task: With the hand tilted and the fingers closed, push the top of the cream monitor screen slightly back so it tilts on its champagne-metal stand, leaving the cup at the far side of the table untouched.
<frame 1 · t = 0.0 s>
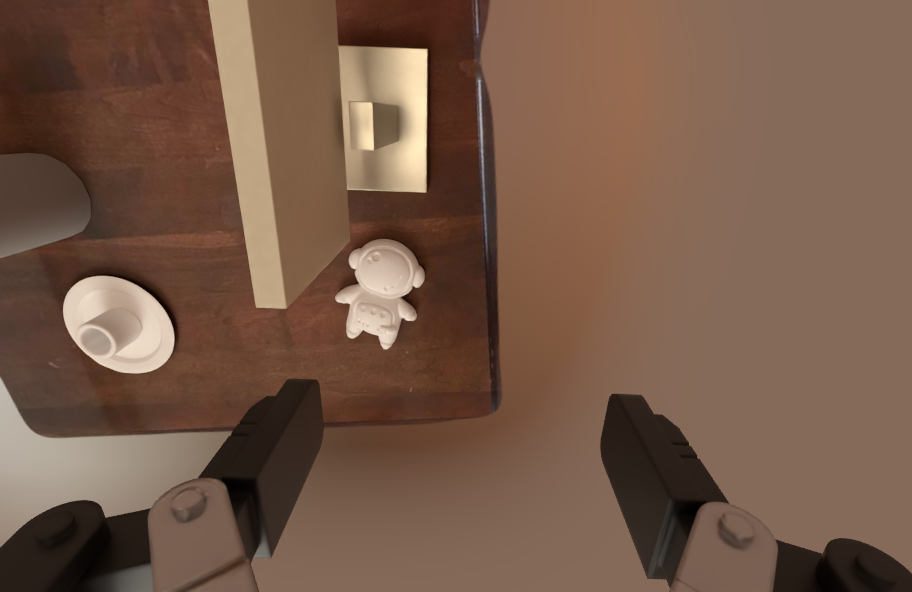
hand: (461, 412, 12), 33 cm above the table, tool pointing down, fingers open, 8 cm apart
monitor stand: (363, 122, 40), on the table
cup: (50, 196, 44), on the table
astronaut figurine: (380, 292, 47), on the table
candle holder: (125, 323, 49), on the table
monitor screen: (298, 126, 25), point 17 cm above the table, hinge at 0.0°
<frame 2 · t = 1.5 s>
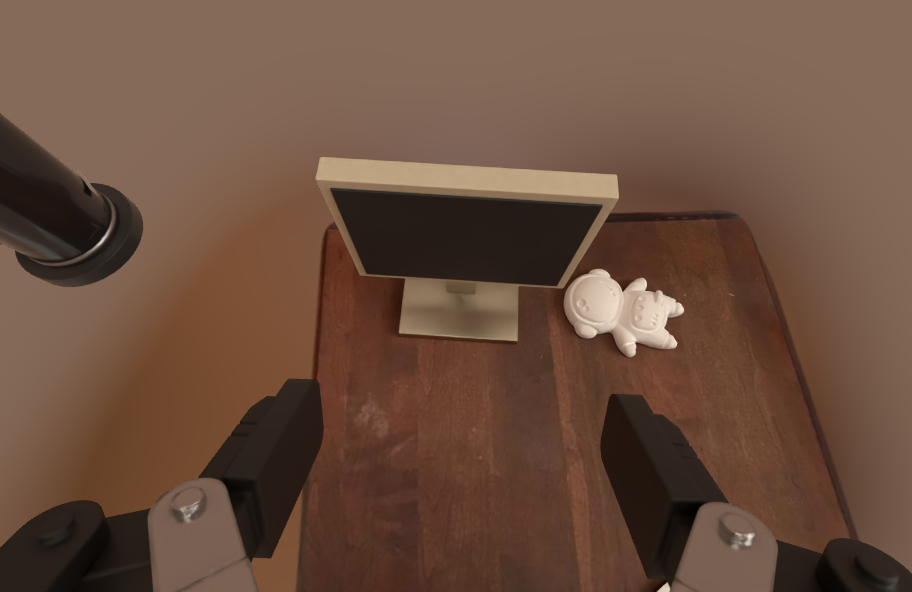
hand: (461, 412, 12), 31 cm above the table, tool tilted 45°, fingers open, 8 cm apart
monitor stand: (459, 313, 46), on the table
astronaut figurine: (620, 315, 46), on the table
monitor screen: (463, 235, 31), point 16 cm above the table, hinge at 0.0°
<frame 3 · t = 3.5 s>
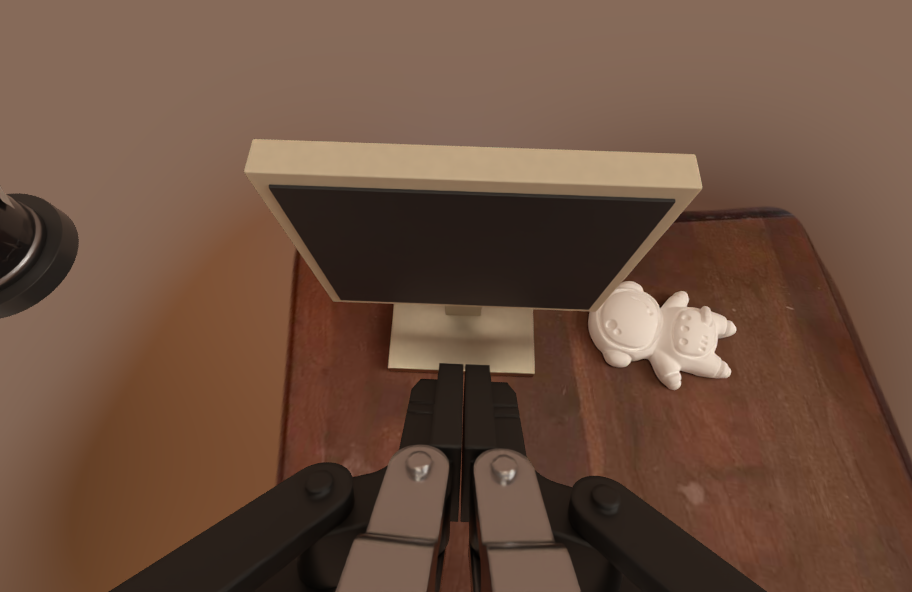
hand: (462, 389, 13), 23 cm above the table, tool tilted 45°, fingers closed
monitor stand: (462, 339, 38), on the table
astronaut figurine: (657, 337, 38), on the table
monitor screen: (467, 248, 22), point 17 cm above the table, hinge at 0.0°
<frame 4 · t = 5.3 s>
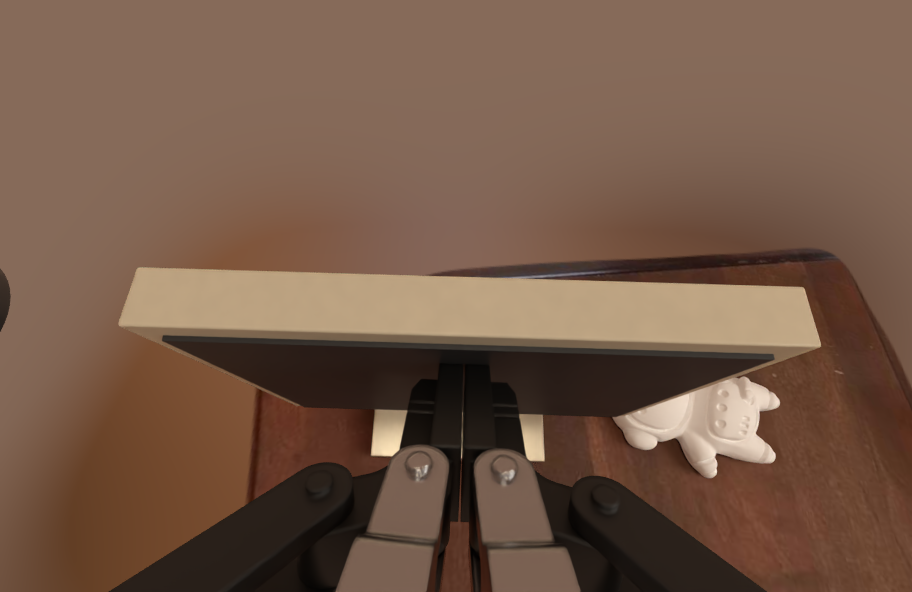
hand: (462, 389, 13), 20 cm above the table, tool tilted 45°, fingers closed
monitor stand: (458, 416, 32), on the table
astronaut figurine: (686, 409, 33), on the table
monitor screen: (463, 368, 17), point 17 cm above the table, hinge at 1.0°, touching gripper
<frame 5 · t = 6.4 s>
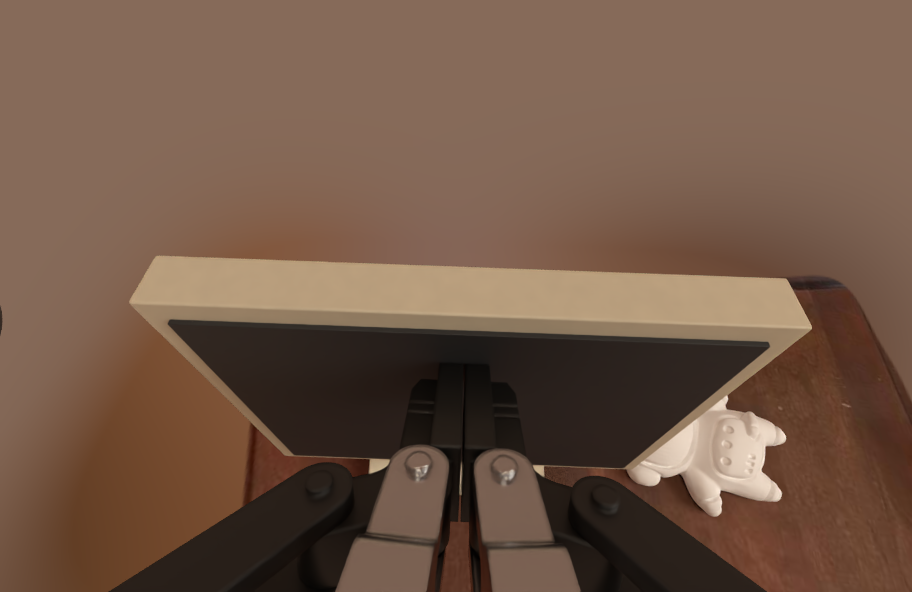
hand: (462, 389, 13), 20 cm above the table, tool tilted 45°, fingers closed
monitor stand: (457, 448, 31), on the table
astronaut figurine: (690, 443, 32), on the table
monitor screen: (462, 394, 16), point 17 cm above the table, hinge at 14.3°, touching gripper
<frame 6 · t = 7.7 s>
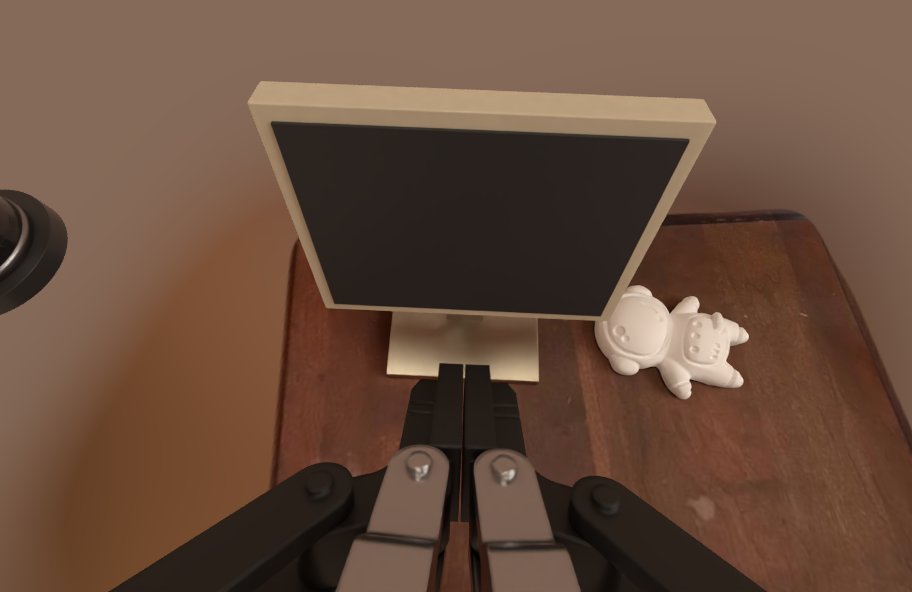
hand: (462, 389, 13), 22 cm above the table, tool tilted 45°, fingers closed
monitor stand: (463, 345, 36), on the table
astronaut figurine: (666, 344, 37), on the table
monitor screen: (472, 228, 21), point 17 cm above the table, hinge at 14.4°
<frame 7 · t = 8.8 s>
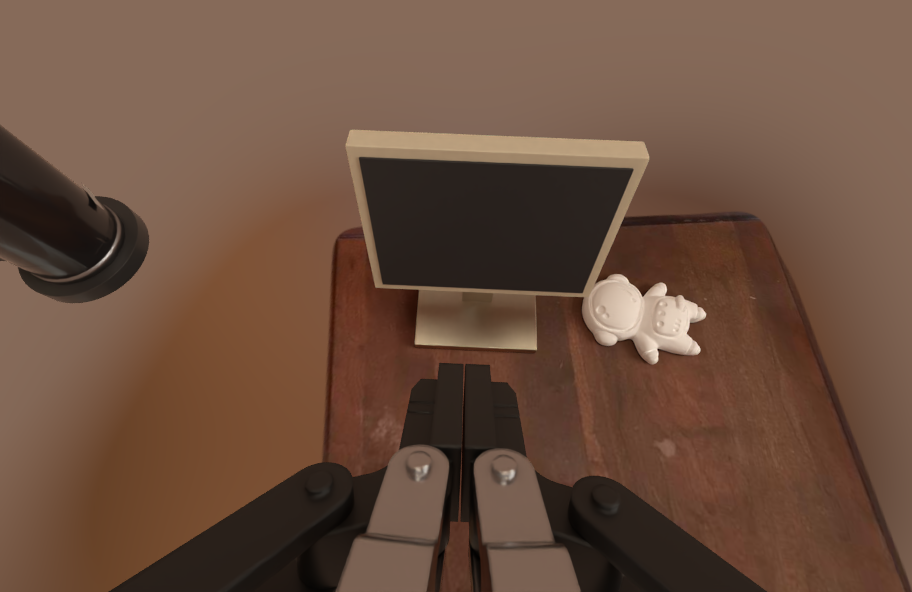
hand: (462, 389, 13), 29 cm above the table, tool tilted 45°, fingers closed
monitor stand: (475, 322, 45), on the table
astronaut figurine: (640, 321, 45), on the table
monitor screen: (487, 227, 30), point 17 cm above the table, hinge at 14.4°
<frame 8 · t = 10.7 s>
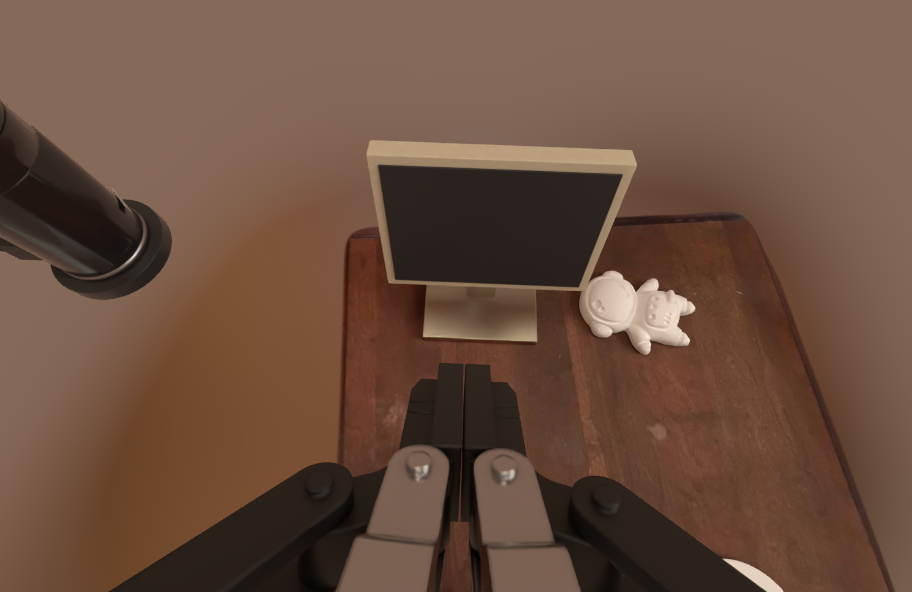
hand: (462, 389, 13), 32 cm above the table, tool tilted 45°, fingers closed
monitor stand: (479, 316, 48), on the table
astronaut figurine: (633, 314, 48), on the table
monitor screen: (492, 227, 33), point 17 cm above the table, hinge at 14.4°
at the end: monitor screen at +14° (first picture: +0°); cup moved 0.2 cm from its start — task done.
